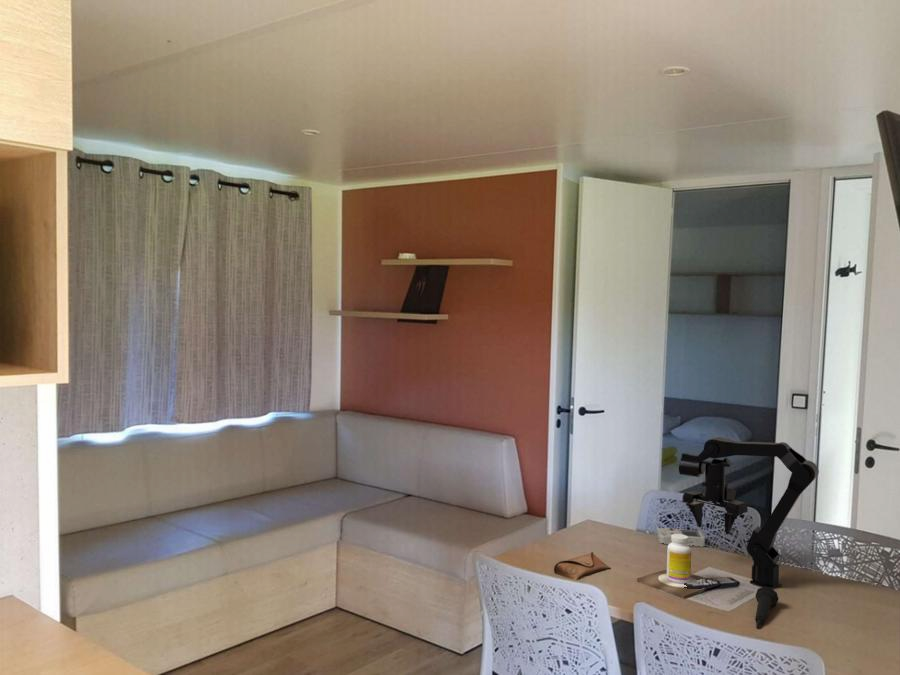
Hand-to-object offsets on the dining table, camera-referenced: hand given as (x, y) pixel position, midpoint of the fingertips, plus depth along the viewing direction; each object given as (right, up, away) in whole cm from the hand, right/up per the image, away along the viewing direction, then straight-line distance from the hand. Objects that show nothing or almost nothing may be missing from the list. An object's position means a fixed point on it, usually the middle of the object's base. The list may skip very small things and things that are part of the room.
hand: (713, 530), depth 224 cm
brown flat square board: (-14, -13, -9) cm, 21 cm away
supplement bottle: (-13, -12, -9) cm, 20 cm away
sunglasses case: (-39, -13, 0) cm, 41 cm away
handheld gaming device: (0, -13, +31) cm, 33 cm away
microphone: (+1, -14, -30) cm, 34 cm away
